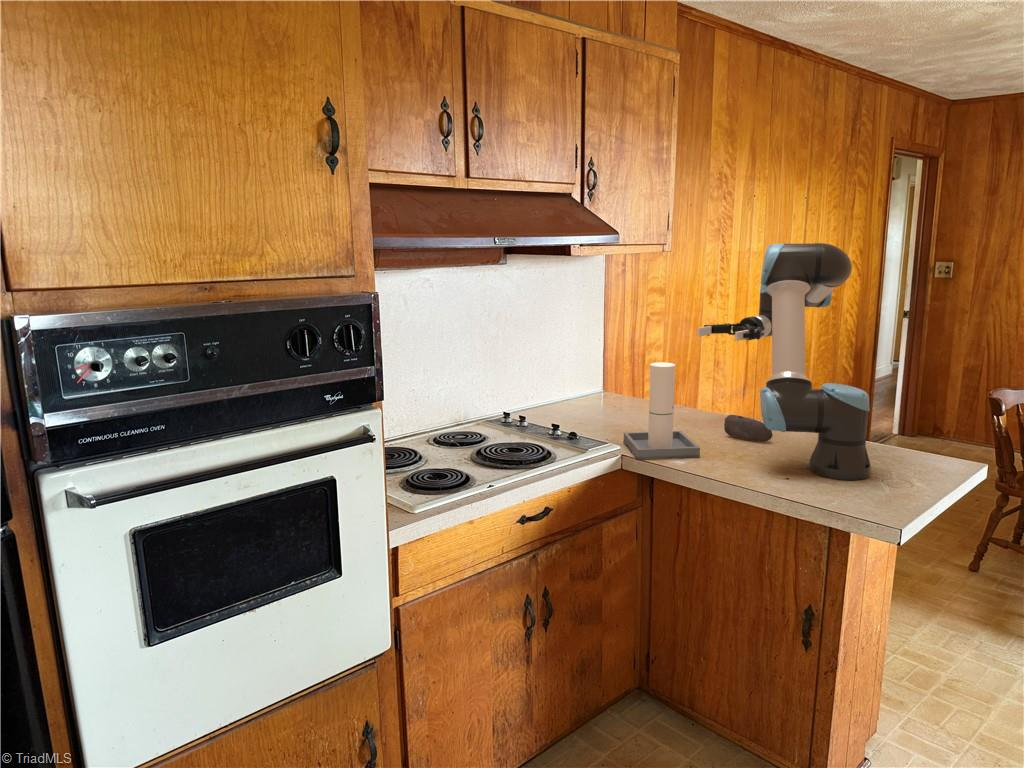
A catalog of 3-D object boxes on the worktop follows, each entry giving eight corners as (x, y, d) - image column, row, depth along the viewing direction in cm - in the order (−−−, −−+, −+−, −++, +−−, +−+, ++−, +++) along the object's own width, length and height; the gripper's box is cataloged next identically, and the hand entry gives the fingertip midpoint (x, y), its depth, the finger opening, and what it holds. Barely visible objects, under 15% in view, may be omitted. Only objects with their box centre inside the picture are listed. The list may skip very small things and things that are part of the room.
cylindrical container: (674, 445, 219) (677, 363, 213) (669, 451, 212) (672, 367, 207) (651, 442, 221) (653, 361, 216) (645, 448, 215) (647, 365, 210)
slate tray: (699, 457, 209) (700, 447, 208) (638, 460, 207) (638, 449, 207) (680, 439, 226) (680, 430, 226) (623, 442, 225) (623, 432, 224)
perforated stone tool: (775, 442, 223) (776, 420, 221) (767, 446, 219) (769, 423, 218) (730, 433, 233) (731, 412, 232) (722, 437, 229) (723, 415, 228)
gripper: (788, 343, 232) (752, 350, 218) (720, 335, 250) (683, 341, 237) (790, 319, 230) (753, 326, 217) (721, 313, 249) (684, 319, 235)
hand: (716, 334), depth 227 cm, fingers open, 13 cm apart
